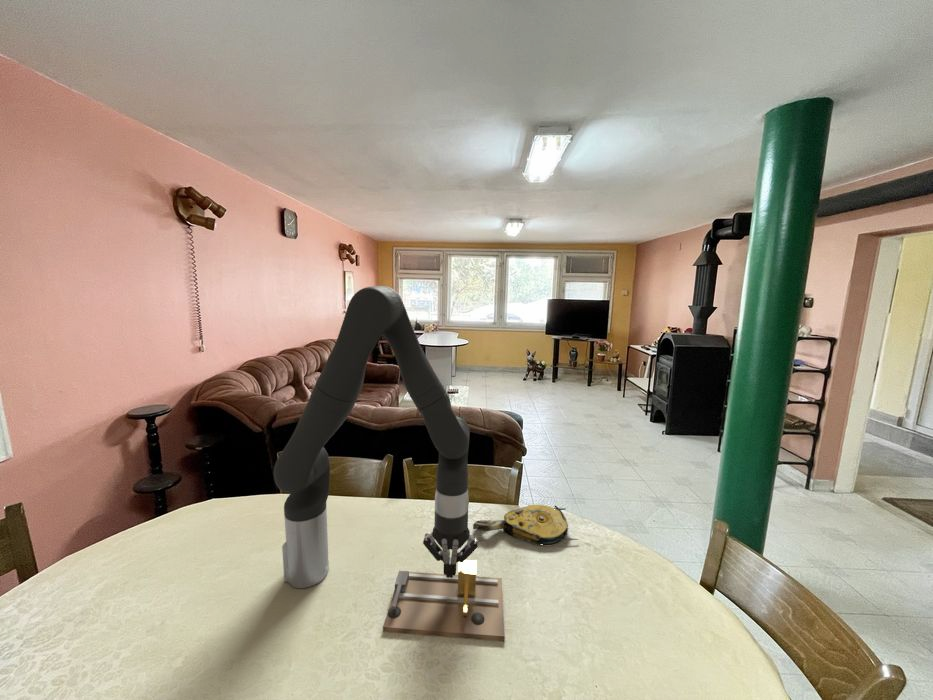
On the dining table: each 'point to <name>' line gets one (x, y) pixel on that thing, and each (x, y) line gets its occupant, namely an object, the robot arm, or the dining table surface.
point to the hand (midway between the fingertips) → (450, 574)
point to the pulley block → (531, 524)
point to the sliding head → (466, 582)
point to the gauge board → (445, 607)
